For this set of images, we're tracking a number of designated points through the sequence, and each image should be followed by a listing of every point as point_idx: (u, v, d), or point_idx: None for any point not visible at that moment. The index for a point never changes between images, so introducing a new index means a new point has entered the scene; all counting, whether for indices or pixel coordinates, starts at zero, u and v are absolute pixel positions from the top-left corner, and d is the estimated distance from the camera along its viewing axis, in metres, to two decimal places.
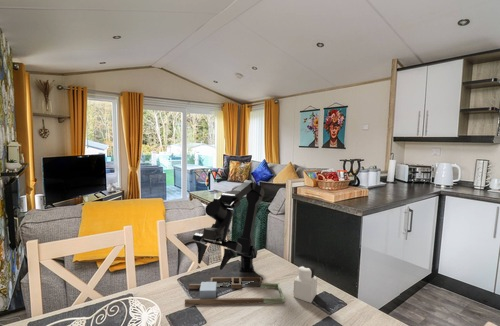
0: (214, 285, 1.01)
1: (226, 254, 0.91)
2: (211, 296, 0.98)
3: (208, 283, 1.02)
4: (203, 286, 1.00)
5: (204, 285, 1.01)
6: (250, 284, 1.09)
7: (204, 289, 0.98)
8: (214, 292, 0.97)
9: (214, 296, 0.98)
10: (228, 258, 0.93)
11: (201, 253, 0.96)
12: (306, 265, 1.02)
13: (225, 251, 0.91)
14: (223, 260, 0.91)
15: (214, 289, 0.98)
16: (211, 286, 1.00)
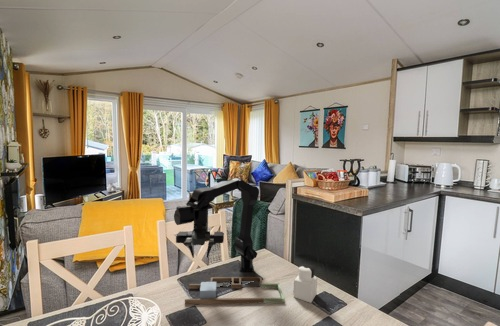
0: (214, 285, 1.01)
1: (210, 246, 1.04)
2: (211, 296, 0.98)
3: (208, 283, 1.02)
4: (203, 286, 1.00)
5: (204, 285, 1.01)
6: (250, 284, 1.09)
7: (205, 290, 0.98)
8: (214, 292, 0.98)
9: (214, 296, 0.98)
10: None
11: (193, 249, 1.05)
12: (306, 265, 1.02)
13: (209, 245, 1.04)
14: (208, 251, 1.05)
15: (214, 289, 0.98)
16: (211, 286, 1.00)
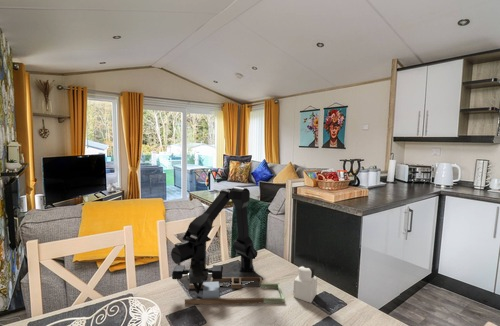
0: (217, 285, 1.01)
1: (201, 282, 0.98)
2: (214, 296, 0.97)
3: (210, 283, 1.02)
4: (206, 286, 1.00)
5: (207, 285, 1.00)
6: (250, 284, 1.09)
7: (208, 290, 0.97)
8: (217, 292, 0.97)
9: (217, 296, 0.98)
10: None
11: (197, 284, 1.00)
12: (306, 265, 1.02)
13: None
14: (199, 287, 0.99)
15: (217, 289, 0.98)
16: (214, 286, 1.00)
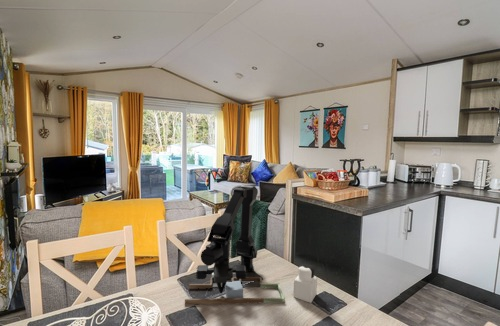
0: (239, 284, 1.02)
1: None
2: (239, 295, 0.99)
3: (232, 282, 1.03)
4: (229, 285, 1.01)
5: (230, 284, 1.02)
6: (250, 284, 1.09)
7: (232, 289, 0.98)
8: (241, 290, 0.99)
9: (241, 295, 0.99)
10: None
11: (220, 284, 1.00)
12: (306, 265, 1.02)
13: None
14: (223, 286, 1.00)
15: (241, 288, 1.00)
16: (237, 285, 1.01)
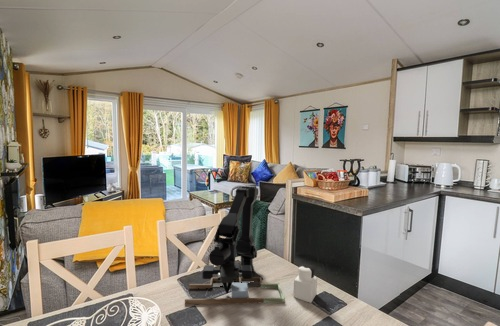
0: (245, 286, 1.01)
1: None
2: (243, 297, 0.98)
3: (238, 283, 1.02)
4: (235, 286, 1.00)
5: (235, 285, 1.01)
6: (250, 284, 1.09)
7: (237, 290, 0.98)
8: (246, 293, 0.97)
9: (246, 297, 0.98)
10: None
11: (226, 284, 1.00)
12: (306, 265, 1.02)
13: None
14: (229, 286, 1.00)
15: (246, 290, 0.98)
16: (243, 287, 1.00)
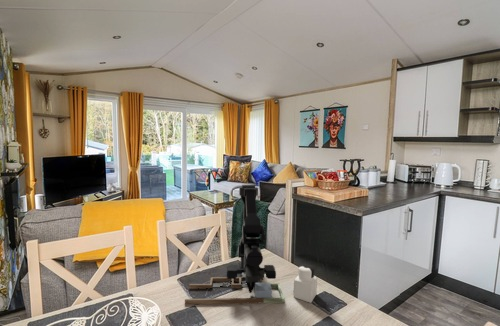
0: (269, 286, 1.01)
1: (255, 281, 1.00)
2: (267, 297, 0.98)
3: (262, 283, 1.02)
4: (258, 286, 1.00)
5: (259, 285, 1.01)
6: (250, 284, 1.09)
7: (260, 290, 0.98)
8: (270, 293, 0.98)
9: (270, 297, 0.98)
10: None
11: None
12: (306, 265, 1.02)
13: None
14: (252, 286, 1.00)
15: (270, 290, 0.98)
16: (266, 287, 1.00)
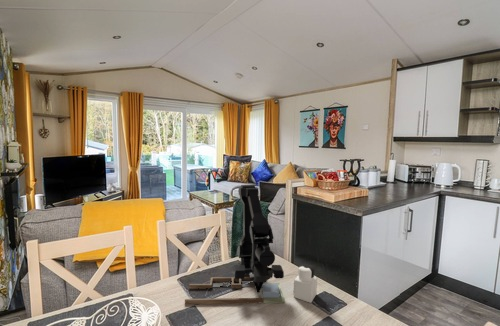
0: (276, 287, 1.01)
1: (262, 281, 1.00)
2: None
3: (269, 284, 1.03)
4: (266, 287, 1.00)
5: (266, 286, 1.01)
6: (250, 284, 1.09)
7: (268, 291, 0.98)
8: (277, 294, 0.98)
9: None
10: None
11: (257, 284, 1.01)
12: (306, 265, 1.02)
13: None
14: (260, 286, 1.00)
15: (277, 291, 0.98)
16: (274, 288, 1.00)
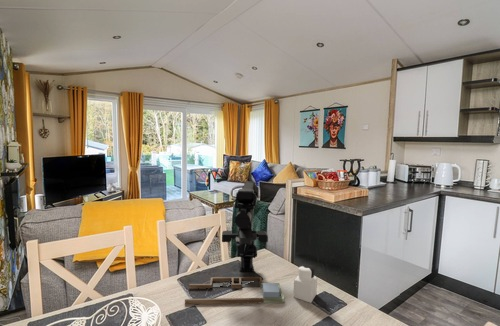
0: (276, 286, 1.01)
1: (248, 245, 1.06)
2: (275, 297, 0.98)
3: (269, 284, 1.03)
4: (266, 287, 1.01)
5: (267, 286, 1.01)
6: (250, 284, 1.09)
7: (268, 291, 0.98)
8: (277, 293, 0.98)
9: None
10: None
11: (243, 248, 1.08)
12: (306, 265, 1.02)
13: (247, 244, 1.06)
14: (246, 250, 1.07)
15: (278, 291, 0.98)
16: (274, 287, 1.00)
